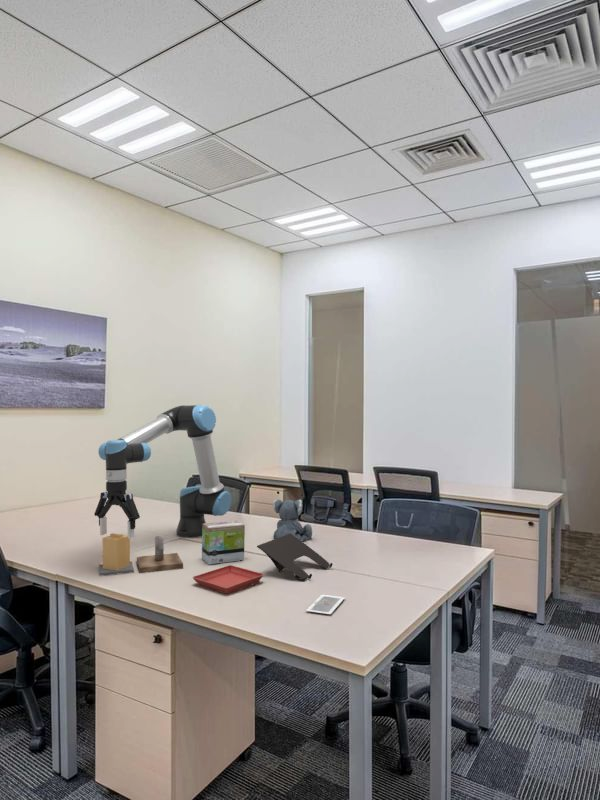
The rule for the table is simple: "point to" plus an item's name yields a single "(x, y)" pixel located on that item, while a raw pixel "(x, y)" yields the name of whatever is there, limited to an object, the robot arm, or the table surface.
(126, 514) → the robot arm
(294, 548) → the portable electronic device stand
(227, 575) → the plant saucer
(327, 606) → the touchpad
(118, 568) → the tan tall block
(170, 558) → the wooden base with post
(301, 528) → the koala plush
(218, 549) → the tea box
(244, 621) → the table surface
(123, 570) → the pad
